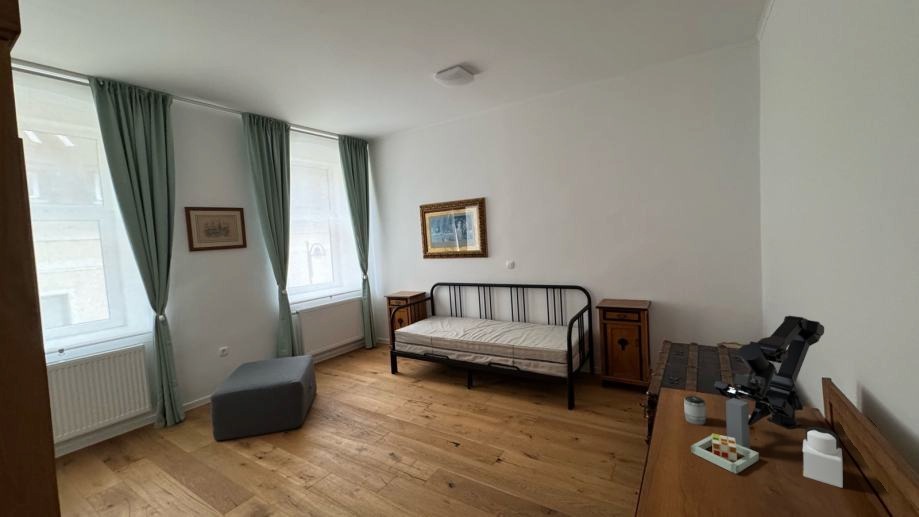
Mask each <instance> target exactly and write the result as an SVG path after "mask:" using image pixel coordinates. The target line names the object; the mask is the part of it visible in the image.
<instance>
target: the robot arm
mask: <svg viewBox="0 0 919 517" xmlns="http://www.w3.org/2000/svg"><path fill="white" fill-rule="evenodd" d="M824 334H825V326H824V325H822V324H821V323H820V321H817V320H816V321H815V320H809V319H808V318H806V317H802V316H796V315H785V316H784V319H783V321H782V323H781V324H780V325H779V326H778V327H777V328H776V329H775V331H774V332H773V333H772V334H771V335H770V336H768V337H763V338H761V339H760V340H758V341H757V342H756V341H750V342H749V343H748V344H744V345H742V346H741V347H739V348H738V350H737V351H738V356H739V357H740V358H741V359H742V361H743V362H744V364H745V365H746V367H747V368H749V369H748V372H746V373H744V374H742V373H741V374H740V373H734V378H733V380H732V381H733V382H732V383H733V384H735V385H737V387H738V389H737V388H735V387H734V386H733V385H732V384H731V383H730V382H727V381H723V380H716V381H715V382H714V384H713V388H714V389H715V391H717V393H718V394H719V396H720V395H721V396H722V397H725V398H728V399H729V400H730V399H732V398H735V399H738V400H741V398H742V399H746V400H749V401H751V402H754V403H755V404H754V408H753V411H752V413H751V415H750V416H749V422H748V425H749V427H752V426H753V425H755V424H756V423H758V422H759V421H760V420H762V419H764V418H766V419H767V421H769V422H771V423H774V424H776V425H779V426H782V427H784V428H786V429H792V428H796V427H800V426H802V425H803V424H802V422H800V421H798V420H797V411H803V410H804V405H805V403H804V401H805V400H804V399H803V397H802V396H801V394H800V390H799V387H798V385H797V383H796V382H797V379H798V376H799V374H800V371H801V368H802V366H803V363H804V362H805V359H806V356H807V353H808V351H809V348H810V346H813V345H815V344H817V343H818V342H819V340H820V339H821V337H822V336H823V335H824ZM773 363H777V364H780V366H779V368H778V371H777V368H776V367H775V365H774V364H773ZM770 415H771V416H770ZM768 416H770V417H768Z"/></svg>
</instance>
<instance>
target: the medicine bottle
mask: <svg viewBox="0 0 919 517" xmlns="http://www.w3.org/2000/svg"><path fill="white" fill-rule="evenodd" d="M839 440H840V439H839V435H837V434H836V433H835V432H833V431H831V430H829V429H827V428H823V427H818V426H808V427H807V428H805V439H803V442H802V475H803V477H805V478H807V479H811V480H814V481H818V482H819V483H820V482H821V483H824V484H828V485H831V486H834V487H837V488H841V489H842V488H843V487H844V486H843V485H844V484H843V482H844V478H843V477H844V476H843V474H844V473H843V469H844V468H843V465H844V464H843V450H842V448H840V447H839V446H840V444H839V442H840V441H839Z"/></svg>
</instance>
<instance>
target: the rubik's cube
mask: <svg viewBox="0 0 919 517" xmlns="http://www.w3.org/2000/svg"><path fill="white" fill-rule="evenodd" d="M711 435H712V446H711V447H712V451H711V453H713V454H715V455H717V456H719V457H721V458H724V459H726V460H728V461H730V462H732V463H734V462H736V461H738V453H737V446H736V441H735V438H733V437H728V436H727V435H721V434H716V433H711Z"/></svg>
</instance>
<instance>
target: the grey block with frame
mask: <svg viewBox="0 0 919 517" xmlns="http://www.w3.org/2000/svg"><path fill="white" fill-rule="evenodd" d="M749 404H750V403H749V402H746V401H745V400H741V399H740V400H738V399H735V398H732V399H730V398H729V399H728V400H726V401H725V417H726V419H725V420H726V421H725V422H726V436H728V437H733V438H735V441H736V446H737V454H738V455H741V456H742V457H741V458H740V459H737V461H736V462H734V463H732V462H730V461H728V460H726V459H724V458H721V457H719V456H717V455H715V454H713V453H712V451H708V450H706V449H708V448H710V447H712V434H711V435H709V436H707V437H706V438H704V439H701V440H699V441H698V442H695V443H694V444H691V446H690V453H692V454H694V455H695V456H698V457H700V458H702V459H704V460H706V461H709V462H711V463H712V464H714V465H717V466H718V467H721V468H723V469H725V470H727V471H729V472H731V473H733V474H736V475H737V474H739V473H741V472H742V471H744V470H745V469H747V468H749V467H750V466H751V465H753V464H755V463H756V462H758V461H759V460H760V453H759V452H757V451H755V450H752V449H751V445H750V444H751V442H750V438H751V437H750V426H749V425H748V422H749V419H750V407H749Z"/></svg>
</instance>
